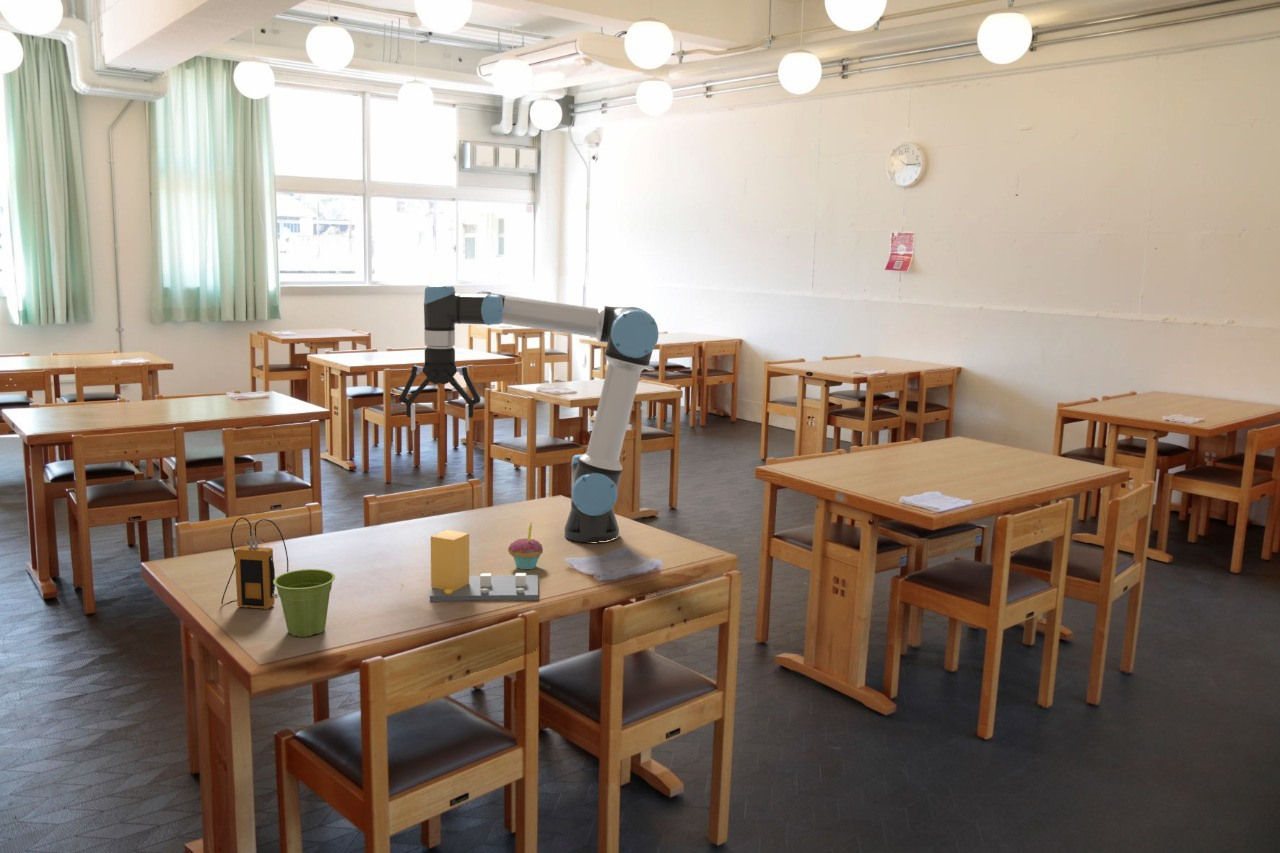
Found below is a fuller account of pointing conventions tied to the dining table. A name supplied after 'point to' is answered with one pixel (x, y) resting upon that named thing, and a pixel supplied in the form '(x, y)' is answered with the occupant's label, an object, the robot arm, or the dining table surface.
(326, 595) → the plant pot
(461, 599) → the board
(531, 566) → the cupcake
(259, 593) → the multimeter
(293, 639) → the dining table surface
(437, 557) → the cap
